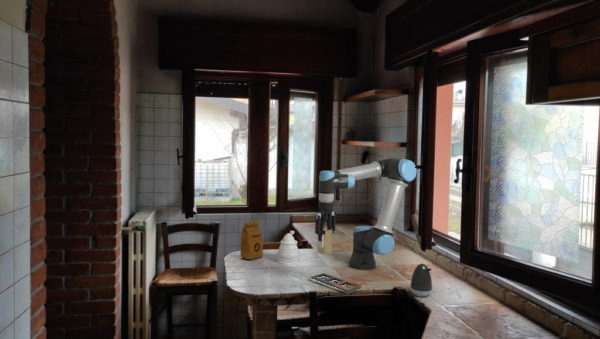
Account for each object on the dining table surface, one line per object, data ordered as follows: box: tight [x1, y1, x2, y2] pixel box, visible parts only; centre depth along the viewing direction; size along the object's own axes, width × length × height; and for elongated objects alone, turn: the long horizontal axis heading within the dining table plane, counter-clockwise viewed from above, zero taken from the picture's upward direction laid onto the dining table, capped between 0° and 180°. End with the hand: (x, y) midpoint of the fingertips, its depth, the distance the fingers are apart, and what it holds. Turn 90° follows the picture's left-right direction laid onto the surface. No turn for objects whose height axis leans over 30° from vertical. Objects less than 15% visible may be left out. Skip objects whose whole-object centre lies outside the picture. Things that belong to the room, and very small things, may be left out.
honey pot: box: [276, 230, 300, 263], centre depth 270 cm, size 13×13×18 cm
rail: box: [310, 272, 362, 295], centre depth 232 cm, size 10×25×2 cm, turn 43°
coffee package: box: [240, 220, 264, 260], centre depth 274 cm, size 10×12×22 cm
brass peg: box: [317, 227, 333, 255], centre depth 236 cm, size 5×5×12 cm
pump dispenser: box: [409, 263, 433, 298], centre depth 221 cm, size 10×10×15 cm
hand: (324, 246), depth 236 cm, fingers closed on brass peg, 5 cm apart
